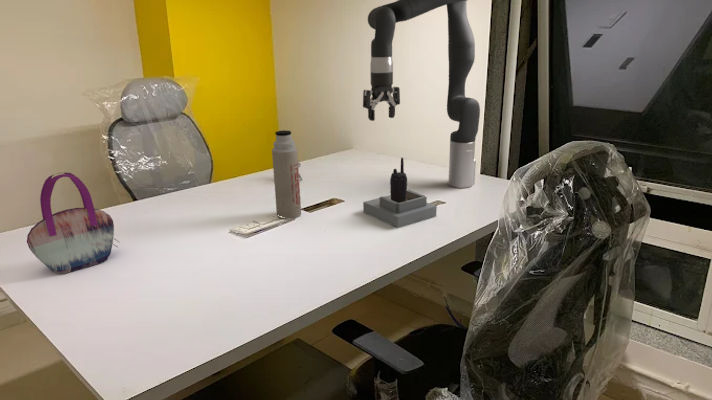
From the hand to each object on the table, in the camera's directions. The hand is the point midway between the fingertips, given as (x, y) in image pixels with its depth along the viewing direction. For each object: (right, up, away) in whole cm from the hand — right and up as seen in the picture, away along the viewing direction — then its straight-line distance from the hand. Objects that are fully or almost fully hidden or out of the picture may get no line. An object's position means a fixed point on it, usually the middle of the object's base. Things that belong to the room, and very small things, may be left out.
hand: (381, 119), depth 177 cm
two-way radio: (+5, -29, -10) cm, 31 cm away
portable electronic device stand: (-35, -20, +31) cm, 51 cm away
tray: (+5, -33, -9) cm, 34 cm away
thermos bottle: (-31, -33, -7) cm, 46 cm away
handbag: (-83, -45, -38) cm, 102 cm away
